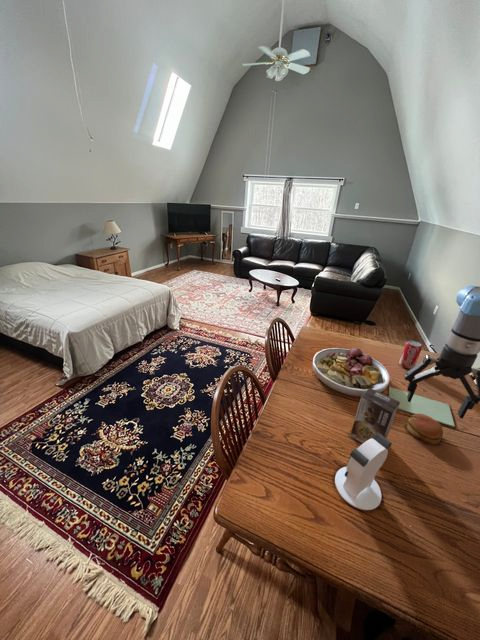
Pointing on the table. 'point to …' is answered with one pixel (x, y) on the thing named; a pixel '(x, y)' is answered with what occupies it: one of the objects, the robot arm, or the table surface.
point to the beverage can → (410, 354)
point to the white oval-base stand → (363, 474)
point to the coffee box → (374, 415)
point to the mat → (423, 406)
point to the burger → (425, 428)
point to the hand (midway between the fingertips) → (433, 407)
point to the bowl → (350, 371)
